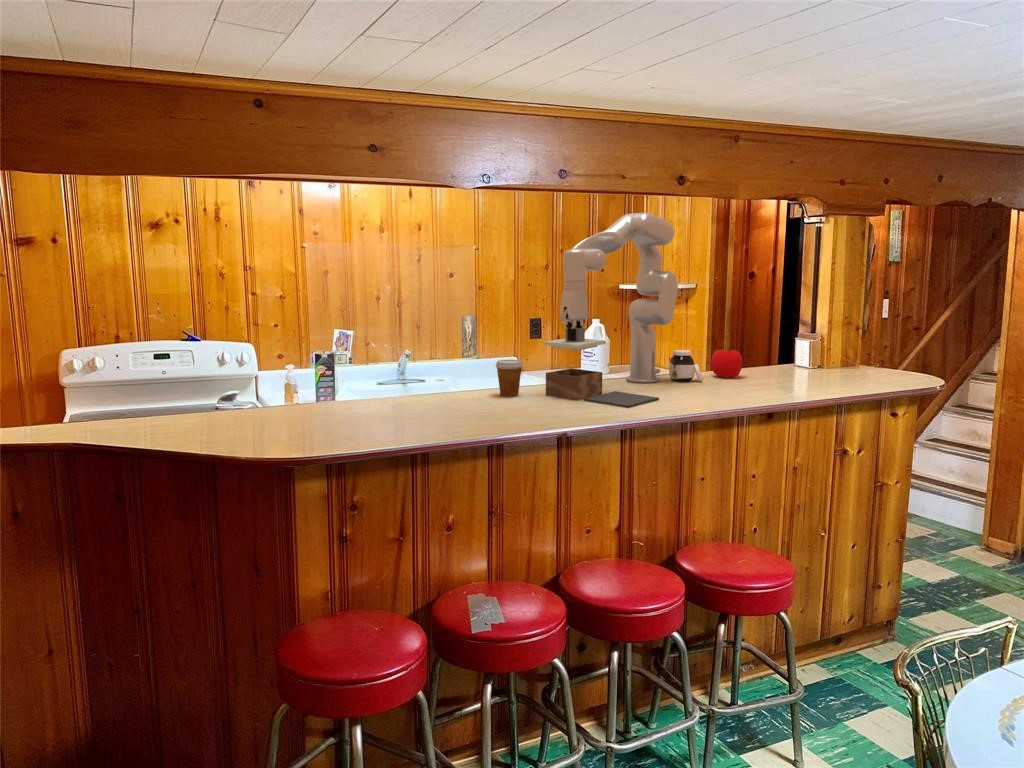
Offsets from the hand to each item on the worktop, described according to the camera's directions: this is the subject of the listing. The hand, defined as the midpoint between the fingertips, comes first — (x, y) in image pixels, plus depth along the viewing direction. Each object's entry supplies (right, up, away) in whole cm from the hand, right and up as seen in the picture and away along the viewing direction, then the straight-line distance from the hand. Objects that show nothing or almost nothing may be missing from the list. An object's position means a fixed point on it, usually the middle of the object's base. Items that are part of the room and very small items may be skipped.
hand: (575, 339), depth 254 cm
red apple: (+63, -13, +39) cm, 75 cm away
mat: (+15, -21, -7) cm, 27 cm away
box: (0, -19, +3) cm, 20 cm away
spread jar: (+46, -14, +31) cm, 57 cm away
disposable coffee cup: (-23, -20, +4) cm, 30 cm away
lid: (0, -3, 0) cm, 3 cm away
